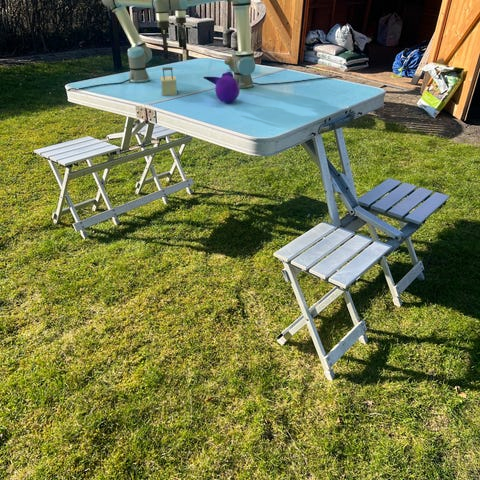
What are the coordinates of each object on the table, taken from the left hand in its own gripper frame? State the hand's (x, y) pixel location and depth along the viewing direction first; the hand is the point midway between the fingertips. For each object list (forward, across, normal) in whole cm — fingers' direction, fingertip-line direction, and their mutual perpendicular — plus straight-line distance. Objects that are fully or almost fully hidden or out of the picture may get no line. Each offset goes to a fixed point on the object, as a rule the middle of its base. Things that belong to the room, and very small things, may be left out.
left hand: (182, 48), depth 336 cm
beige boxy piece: (+12, -48, +21) cm, 54 cm away
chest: (+21, -48, +21) cm, 56 cm away
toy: (+21, -82, -6) cm, 85 cm away
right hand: (-2, -52, +22) cm, 56 cm away
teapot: (+21, +15, -47) cm, 53 cm away
